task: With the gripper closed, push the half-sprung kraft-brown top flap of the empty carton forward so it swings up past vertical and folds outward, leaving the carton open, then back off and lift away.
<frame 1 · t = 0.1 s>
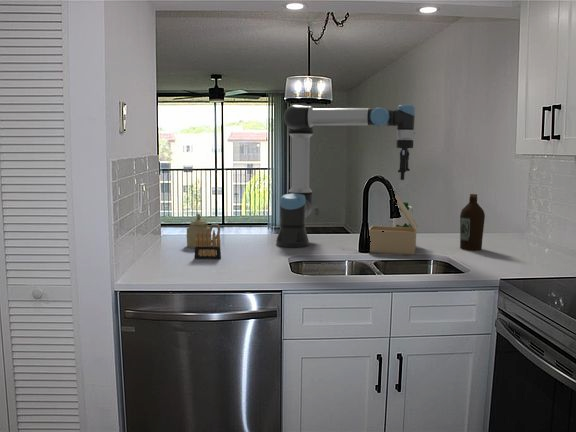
hand: (403, 186, 263), 28 cm above the countertop, fingers open, 13 cm apart
milk carton: (401, 244, 271), on the countertop
ammunition clip: (207, 259, 234), on the countertop
carton flap: (404, 209, 250), point 19 cm above the countertop, hinge at 55.0°
sugar bowl: (203, 246, 261), on the countertop
carton: (391, 251, 254), on the countertop
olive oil: (470, 249, 261), on the countertop
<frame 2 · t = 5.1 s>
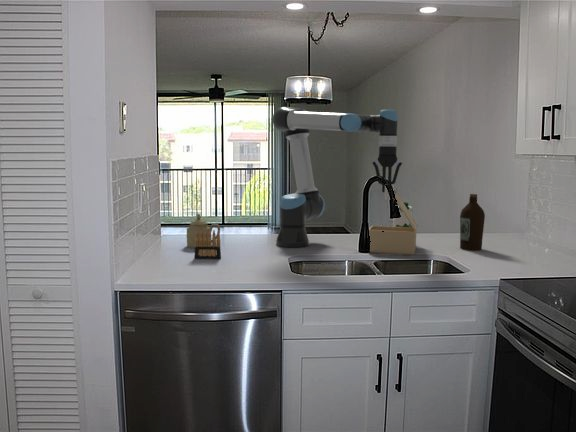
hand: (386, 199, 251), 23 cm above the countertop, fingers closed
carton flap: (404, 208, 250), point 19 cm above the countertop, hinge at 55.9°, touching gripper
everything else where it was.
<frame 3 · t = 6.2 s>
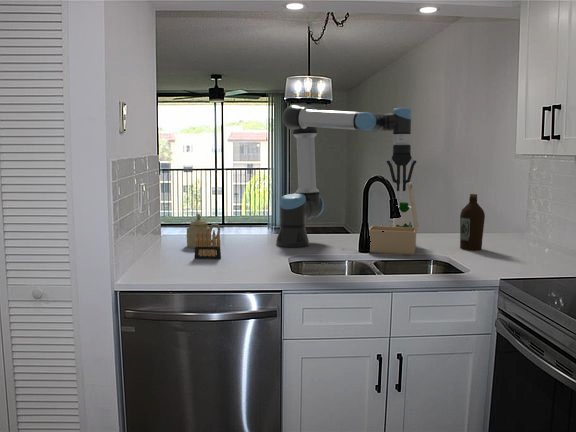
hand: (401, 198, 249), 24 cm above the countertop, fingers closed
carton flap: (413, 206, 249), point 20 cm above the countertop, hinge at 79.2°, touching gripper
everything else where it was.
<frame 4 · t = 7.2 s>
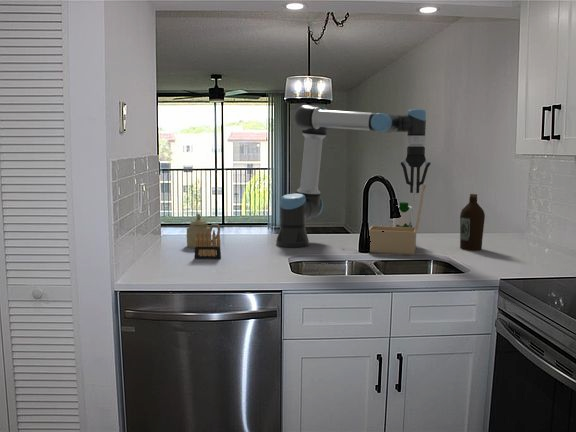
hand: (414, 200, 248), 23 cm above the countertop, fingers closed
carton flap: (420, 206, 248), point 20 cm above the countertop, hinge at 97.0°, touching gripper
everything else where it was.
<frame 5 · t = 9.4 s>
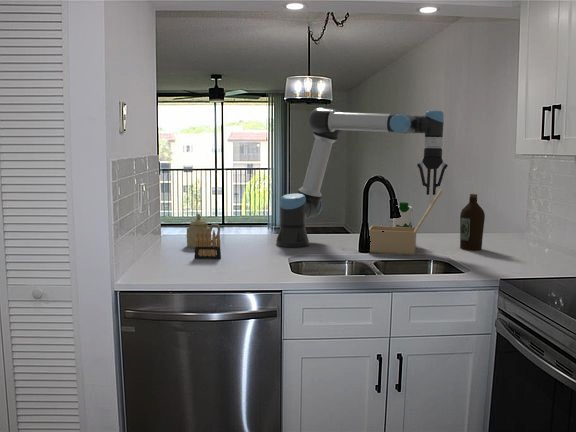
hand: (430, 202, 246), 22 cm above the countertop, fingers closed
carton flap: (429, 210, 247), point 19 cm above the countertop, hinge at 119.3°, touching gripper
everything else where it was.
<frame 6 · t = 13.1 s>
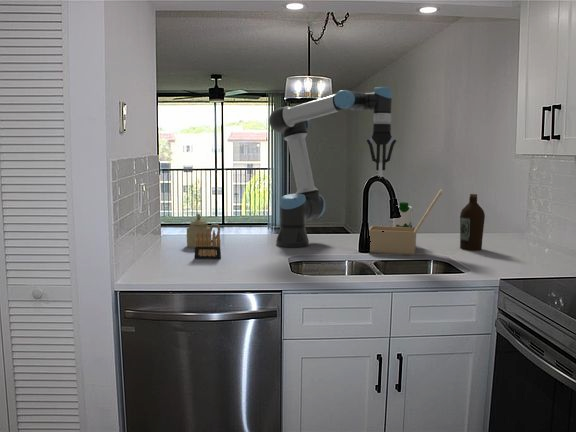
hand: (380, 177, 251), 32 cm above the countertop, fingers closed
carton flap: (429, 210, 247), point 19 cm above the countertop, hinge at 119.4°
everything else where it was.
at the end: carton flap at +119° (first picture: +55°) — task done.
